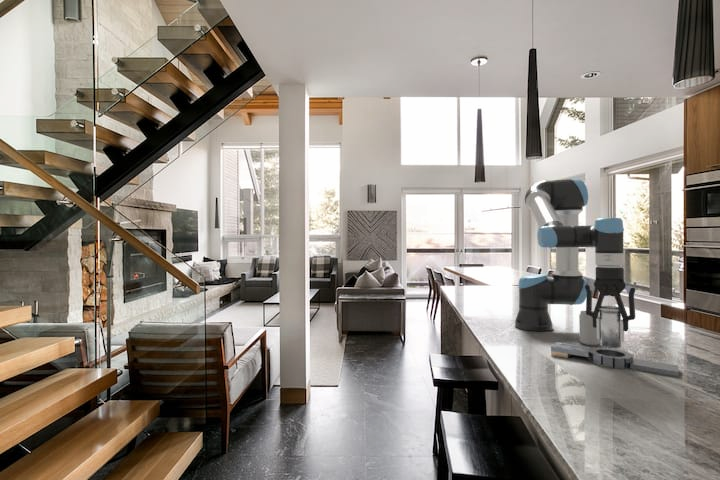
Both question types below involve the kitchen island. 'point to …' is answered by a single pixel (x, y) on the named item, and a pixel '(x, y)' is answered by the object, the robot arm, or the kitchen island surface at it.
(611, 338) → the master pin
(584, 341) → the beverage can
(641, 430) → the kitchen island surface
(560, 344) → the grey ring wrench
